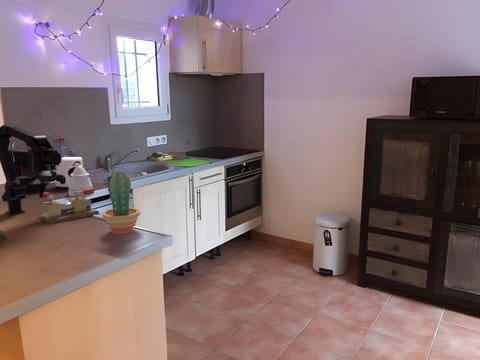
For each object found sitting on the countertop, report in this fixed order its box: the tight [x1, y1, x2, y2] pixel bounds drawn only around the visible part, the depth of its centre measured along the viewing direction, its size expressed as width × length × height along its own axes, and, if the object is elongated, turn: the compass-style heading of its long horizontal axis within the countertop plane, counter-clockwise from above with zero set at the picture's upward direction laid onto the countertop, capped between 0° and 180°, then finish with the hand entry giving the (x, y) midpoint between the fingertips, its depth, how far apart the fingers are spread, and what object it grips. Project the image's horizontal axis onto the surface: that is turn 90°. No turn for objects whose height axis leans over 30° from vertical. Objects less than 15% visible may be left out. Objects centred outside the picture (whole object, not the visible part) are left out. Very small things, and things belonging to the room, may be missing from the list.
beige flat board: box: [38, 207, 100, 225], centre depth 182 cm, size 13×22×2 cm, turn 138°
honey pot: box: [68, 163, 94, 198], centre depth 225 cm, size 13×13×18 cm
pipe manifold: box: [41, 187, 95, 219], centre depth 182 cm, size 6×23×10 cm, turn 138°
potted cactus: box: [101, 169, 141, 235], centre depth 160 cm, size 15×16×25 cm
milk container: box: [54, 156, 84, 189], centre depth 243 cm, size 17×17×18 cm
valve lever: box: [41, 191, 55, 202], centre depth 177 cm, size 9×3×2 cm, turn 43°
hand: (41, 197), depth 178 cm, fingers closed
